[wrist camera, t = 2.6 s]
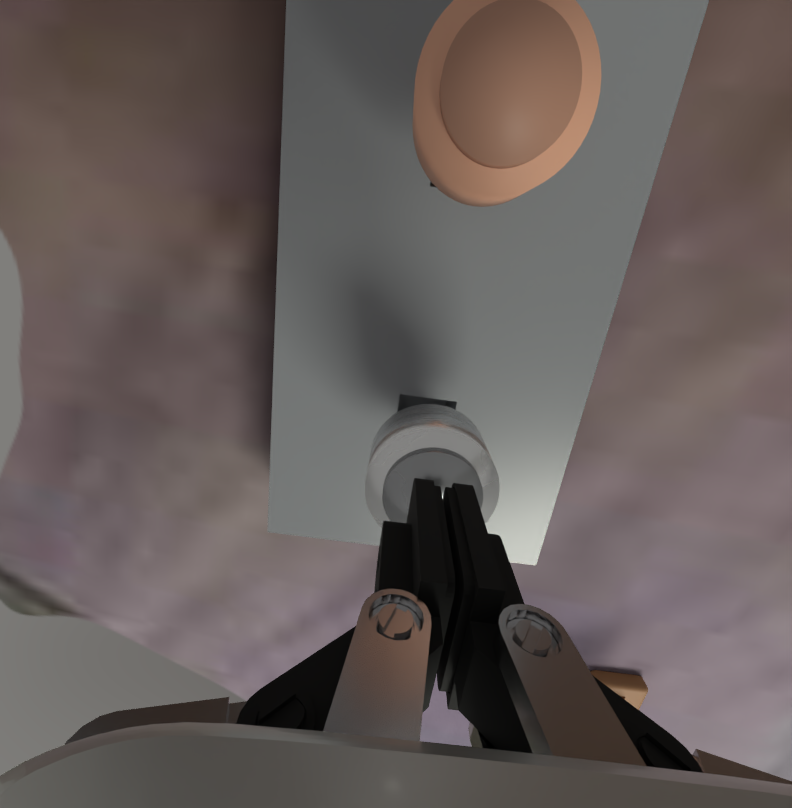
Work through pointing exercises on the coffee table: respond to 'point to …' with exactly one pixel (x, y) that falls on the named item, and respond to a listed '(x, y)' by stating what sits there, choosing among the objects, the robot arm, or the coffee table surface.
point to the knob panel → (446, 263)
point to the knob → (427, 460)
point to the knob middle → (504, 96)
